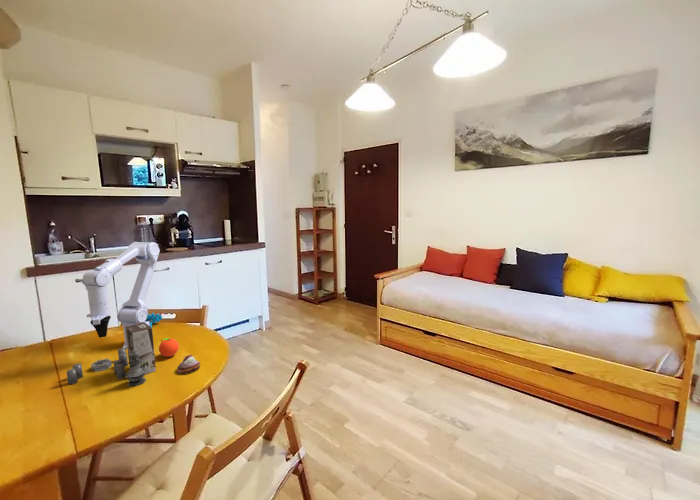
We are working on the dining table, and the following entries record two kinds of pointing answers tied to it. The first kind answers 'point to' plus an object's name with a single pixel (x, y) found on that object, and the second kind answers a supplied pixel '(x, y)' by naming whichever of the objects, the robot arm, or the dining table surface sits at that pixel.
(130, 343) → the coffee box
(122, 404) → the dining table surface
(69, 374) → the spacers
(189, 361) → the pastry
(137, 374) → the grey tall stone piece
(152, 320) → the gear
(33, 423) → the dining table surface
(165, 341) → the clementine
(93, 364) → the nut
